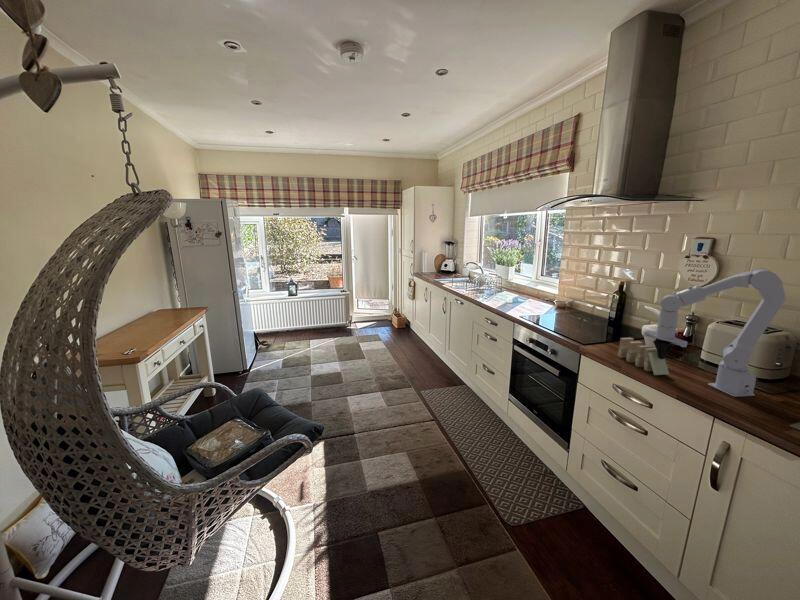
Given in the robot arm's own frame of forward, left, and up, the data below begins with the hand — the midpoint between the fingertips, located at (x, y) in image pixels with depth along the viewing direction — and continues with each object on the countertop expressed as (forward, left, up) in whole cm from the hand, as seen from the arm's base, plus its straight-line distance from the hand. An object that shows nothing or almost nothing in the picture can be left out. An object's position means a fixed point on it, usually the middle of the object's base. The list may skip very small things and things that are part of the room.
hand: (661, 358), depth 132 cm
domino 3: (+9, 0, -7) cm, 11 cm away
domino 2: (+14, 0, -7) cm, 15 cm away
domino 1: (+19, 0, -7) cm, 20 cm away
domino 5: (-1, 0, -6) cm, 7 cm away
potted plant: (+29, -23, -7) cm, 37 cm away
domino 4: (+4, 0, -7) cm, 8 cm away
